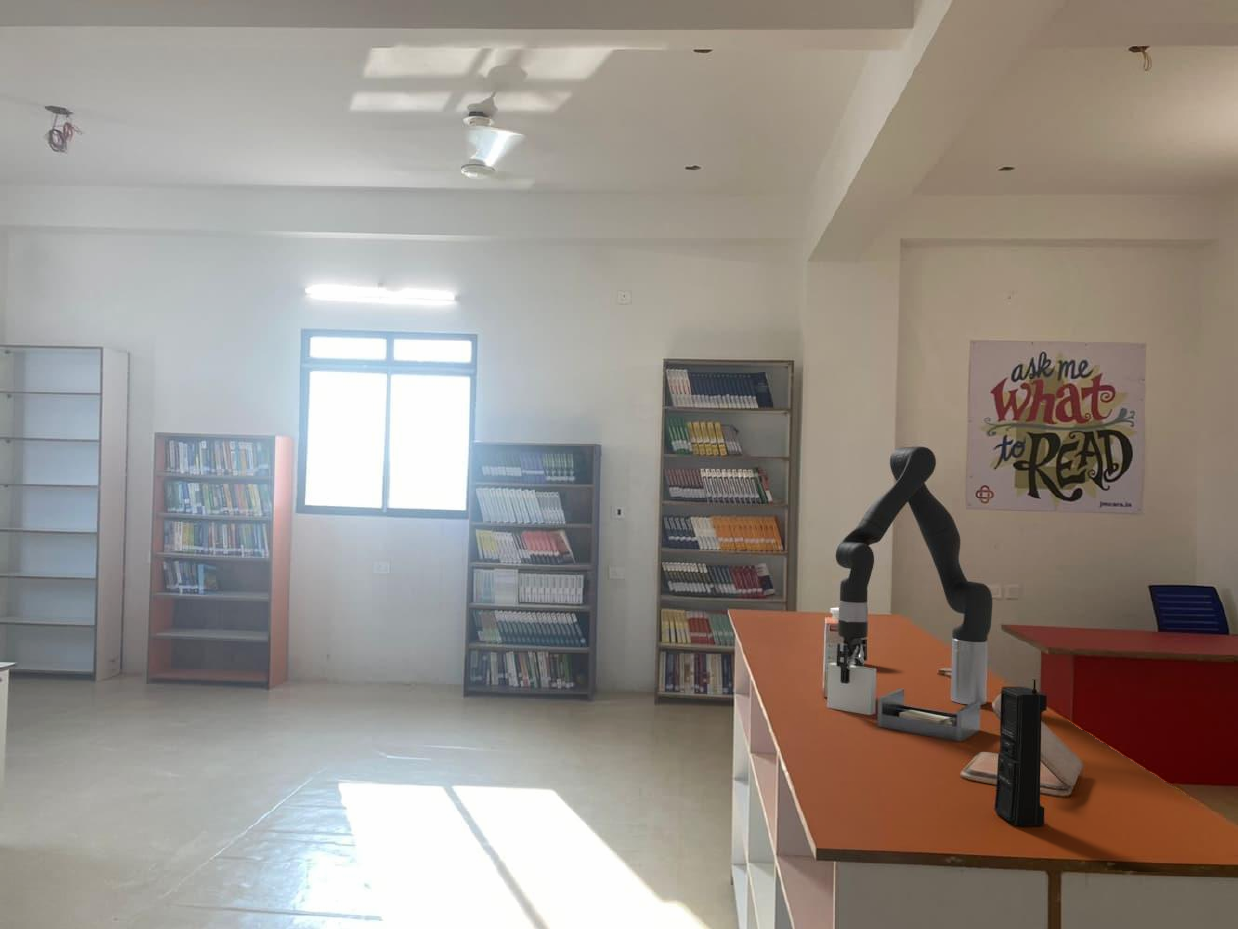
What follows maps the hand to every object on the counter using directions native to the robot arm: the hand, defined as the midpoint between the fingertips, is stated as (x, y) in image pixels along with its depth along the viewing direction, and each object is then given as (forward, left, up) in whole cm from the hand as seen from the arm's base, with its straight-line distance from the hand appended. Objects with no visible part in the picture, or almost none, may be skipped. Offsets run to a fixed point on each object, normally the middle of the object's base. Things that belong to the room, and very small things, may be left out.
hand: (851, 680), depth 246 cm
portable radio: (+59, +56, -8) cm, 82 cm away
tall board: (0, 0, -8) cm, 8 cm away
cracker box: (-16, -12, -8) cm, 22 cm away
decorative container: (-66, -30, -8) cm, 73 cm away
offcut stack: (+7, +22, -8) cm, 24 cm away
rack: (+4, +22, -8) cm, 24 cm away
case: (+31, +50, -8) cm, 59 cm away
